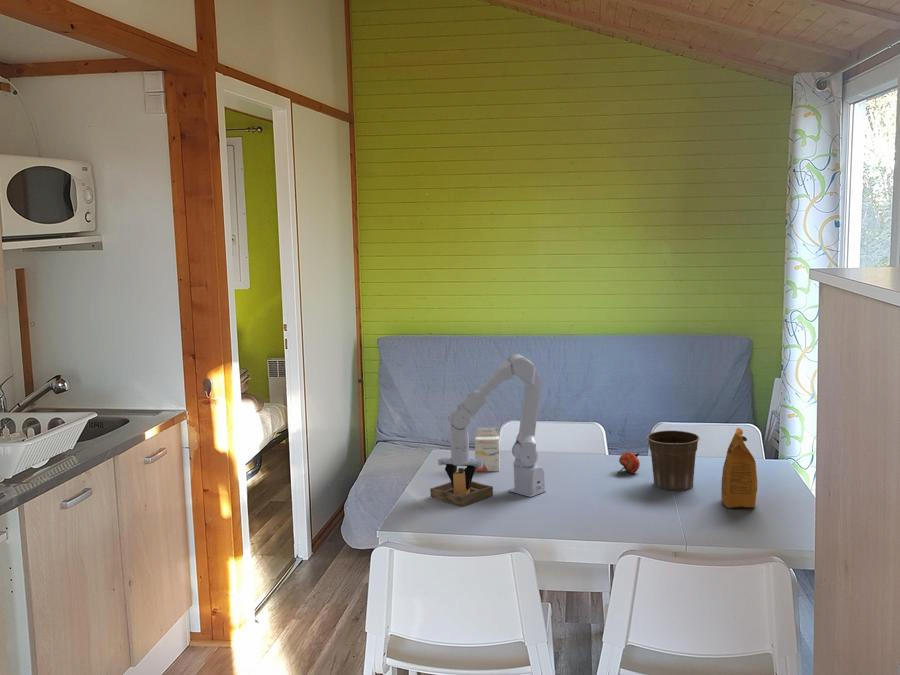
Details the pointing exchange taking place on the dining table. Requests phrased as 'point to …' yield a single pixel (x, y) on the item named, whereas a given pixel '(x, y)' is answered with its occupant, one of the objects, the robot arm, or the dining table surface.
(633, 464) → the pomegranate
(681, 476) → the plant pot
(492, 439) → the ink cartridge box
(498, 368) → the robot arm
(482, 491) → the walled box
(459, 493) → the tan tall block
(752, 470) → the coffee package
